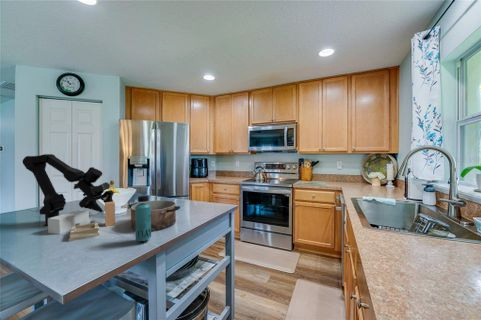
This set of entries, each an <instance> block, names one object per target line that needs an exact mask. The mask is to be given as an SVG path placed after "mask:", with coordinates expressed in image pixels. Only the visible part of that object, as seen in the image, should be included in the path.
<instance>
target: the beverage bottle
mask: <svg viewBox="0 0 481 320" xmlns="http://www.w3.org/2000/svg"><path fill="white" fill-rule="evenodd" d="M147 201H149V196H148V195H139V196H137V203H139V202H140V204H138V205H137V206H136V207H135V214H136V227H135V229H136V230H134V232H135V240H136V241H137V242H144V241H148V240H150V239H151V237H152V232H153V231H152V228H151V205H150V204H148V203H141V202H147Z"/></svg>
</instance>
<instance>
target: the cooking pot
mask: <svg viewBox="0 0 481 320" xmlns="http://www.w3.org/2000/svg"><path fill="white" fill-rule="evenodd" d="M140 203H148V204H150V205H151V228H152V232H158V231H162V230H166V229H168V228H170V227H171V228H172V226H175V224H176V219H177V218H176V216H177V215H176V214H177V213H176V212H177V211H178V210H180V209H181V206H180V205H179V206H178V205H177V203H176V201H172V200H169V199H167V200H165V199H162V200H161V199H158V200H155V199H154V200H148V201H146V202H135V203H131V204H129V205H128V208H130V220H131V221H130V227H131V230H133V231H135V230H136V229H135V227H136V214H135V207H136V206H137V205H138V204H140ZM176 205H177V206H176Z"/></svg>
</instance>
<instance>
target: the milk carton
mask: <svg viewBox="0 0 481 320" xmlns="http://www.w3.org/2000/svg"><path fill="white" fill-rule="evenodd" d="M94 216H95V214H93V213H92V212H91V211H89V210H81V209H78V210H73V211H71V212H67V213H63V214H59V216H55V217H52V218H48V225H47V233H48V234H54V235H62V234H64V233H66V232H69V231H70V232H71V229H72V227H73V226H75V224H76V223H80V225H85V224H91V221H93V217H94Z"/></svg>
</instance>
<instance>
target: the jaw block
mask: <svg viewBox="0 0 481 320" xmlns="http://www.w3.org/2000/svg"><path fill="white" fill-rule="evenodd" d="M104 220H105V222H104V223H105V227H112V226H116V203H115V201H113V202H105V203H104Z"/></svg>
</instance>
